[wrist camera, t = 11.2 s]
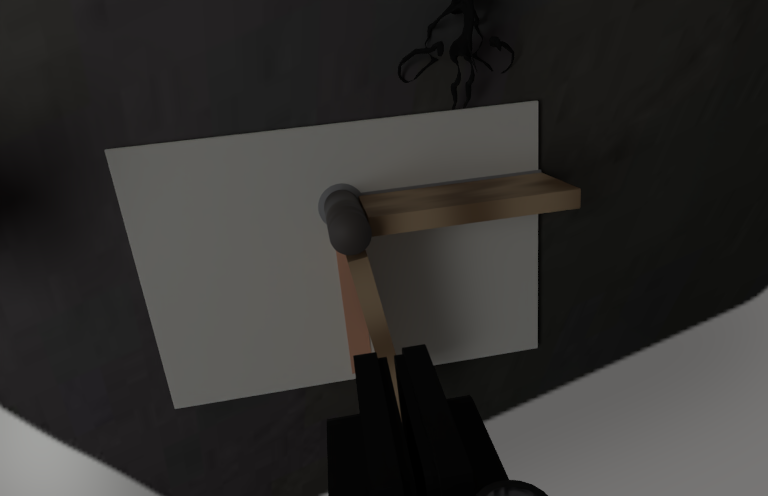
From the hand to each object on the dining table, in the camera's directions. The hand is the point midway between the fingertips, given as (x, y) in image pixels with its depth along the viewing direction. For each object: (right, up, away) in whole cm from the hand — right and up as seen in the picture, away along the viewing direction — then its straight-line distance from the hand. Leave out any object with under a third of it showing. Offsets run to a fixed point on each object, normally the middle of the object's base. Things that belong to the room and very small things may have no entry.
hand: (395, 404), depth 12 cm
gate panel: (-1, -1, +26) cm, 26 cm away
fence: (+3, +7, +25) cm, 26 cm away
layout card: (-3, +3, +25) cm, 26 cm away
